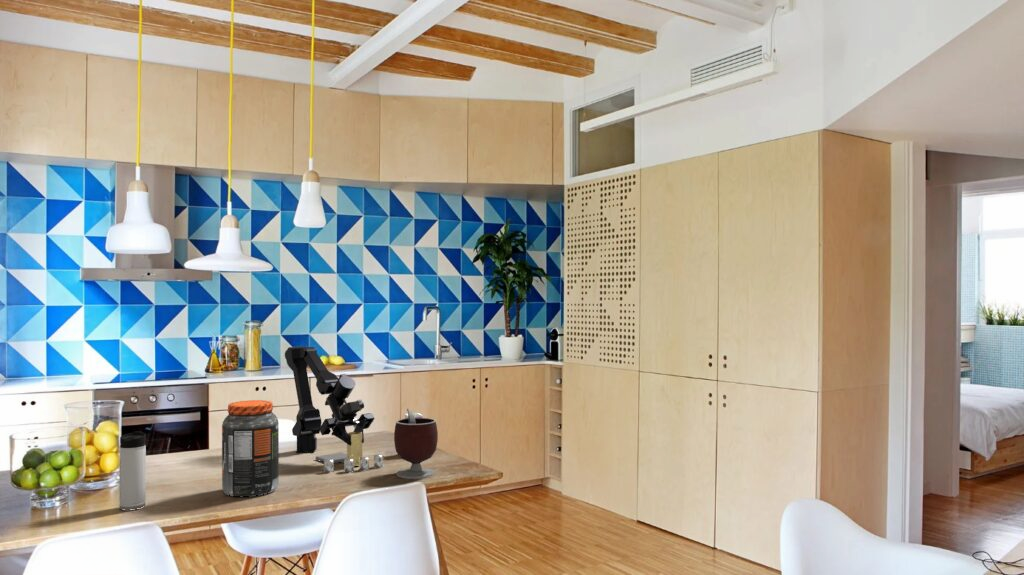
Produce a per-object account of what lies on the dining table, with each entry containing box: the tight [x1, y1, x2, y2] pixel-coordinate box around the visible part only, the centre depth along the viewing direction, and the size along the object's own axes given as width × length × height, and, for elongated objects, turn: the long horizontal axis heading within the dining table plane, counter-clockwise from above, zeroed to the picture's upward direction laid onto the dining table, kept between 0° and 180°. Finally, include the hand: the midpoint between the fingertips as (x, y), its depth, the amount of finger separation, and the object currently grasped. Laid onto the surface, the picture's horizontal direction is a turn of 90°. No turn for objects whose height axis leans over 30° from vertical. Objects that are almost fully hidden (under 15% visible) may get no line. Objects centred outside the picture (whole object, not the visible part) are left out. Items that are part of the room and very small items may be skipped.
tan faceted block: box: [346, 431, 363, 466], centre depth 250 cm, size 4×5×11 cm
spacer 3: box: [359, 456, 370, 471], centre depth 244 cm, size 3×3×4 cm
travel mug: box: [118, 431, 147, 510], centre depth 200 cm, size 6×7×20 cm
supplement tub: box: [221, 399, 280, 498], centre depth 217 cm, size 16×16×26 cm
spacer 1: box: [323, 459, 335, 473], centre depth 240 cm, size 3×3×4 cm
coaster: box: [315, 451, 347, 464], centre depth 258 cm, size 10×10×1 cm
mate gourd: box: [393, 408, 439, 480], centre depth 238 cm, size 16×14×20 cm
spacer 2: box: [343, 458, 355, 473], centre depth 241 cm, size 3×3×4 cm
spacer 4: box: [373, 453, 384, 469], centre depth 247 cm, size 3×3×4 cm
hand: (356, 443), depth 249 cm, fingers closed on tan faceted block, 4 cm apart
